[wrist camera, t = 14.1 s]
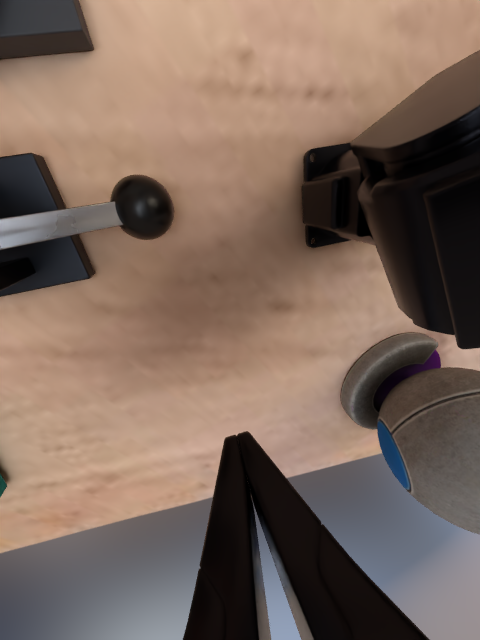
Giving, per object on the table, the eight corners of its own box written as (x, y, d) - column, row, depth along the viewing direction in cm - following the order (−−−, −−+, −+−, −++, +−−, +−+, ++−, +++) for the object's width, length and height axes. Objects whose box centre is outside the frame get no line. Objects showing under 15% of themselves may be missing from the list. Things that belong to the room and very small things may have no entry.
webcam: (434, 393, 32) (608, 526, 19) (347, 434, 32) (464, 596, 19) (438, 314, 26) (701, 430, 13) (331, 363, 26) (487, 533, 13)
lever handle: (152, 176, 14) (174, 166, 12) (168, 232, 16) (190, 233, 14) (-275, 224, 8) (-419, 224, 5) (-177, 314, 9) (-254, 345, 7)
